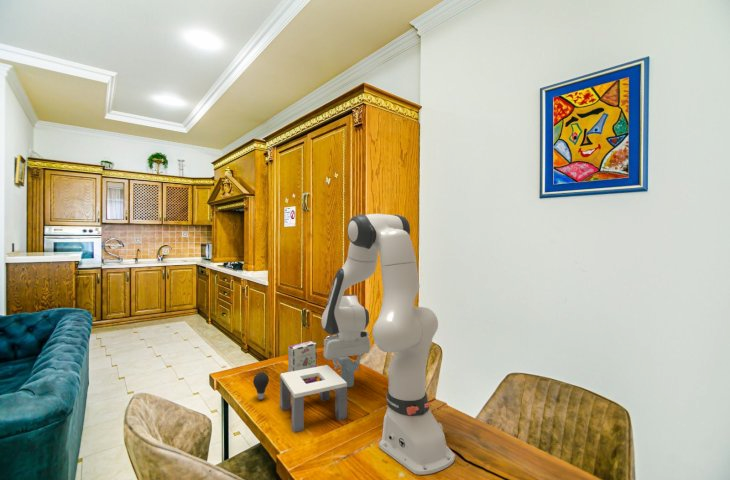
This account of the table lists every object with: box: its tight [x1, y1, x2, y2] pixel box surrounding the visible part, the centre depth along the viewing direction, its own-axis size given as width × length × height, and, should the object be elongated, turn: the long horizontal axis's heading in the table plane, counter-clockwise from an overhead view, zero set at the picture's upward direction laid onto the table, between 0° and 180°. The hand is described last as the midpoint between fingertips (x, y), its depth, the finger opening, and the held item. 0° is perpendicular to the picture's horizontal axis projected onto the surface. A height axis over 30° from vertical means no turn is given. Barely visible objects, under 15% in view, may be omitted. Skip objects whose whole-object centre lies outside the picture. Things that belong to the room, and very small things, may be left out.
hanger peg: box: [336, 356, 359, 389], centre depth 136 cm, size 12×4×10 cm, turn 28°
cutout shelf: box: [279, 364, 348, 434], centre depth 114 cm, size 18×18×12 cm
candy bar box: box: [287, 340, 318, 384], centre depth 137 cm, size 11×5×16 cm, turn 131°
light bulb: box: [252, 371, 270, 401], centre depth 123 cm, size 6×6×10 cm
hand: (347, 366), depth 136 cm, fingers open, 8 cm apart
